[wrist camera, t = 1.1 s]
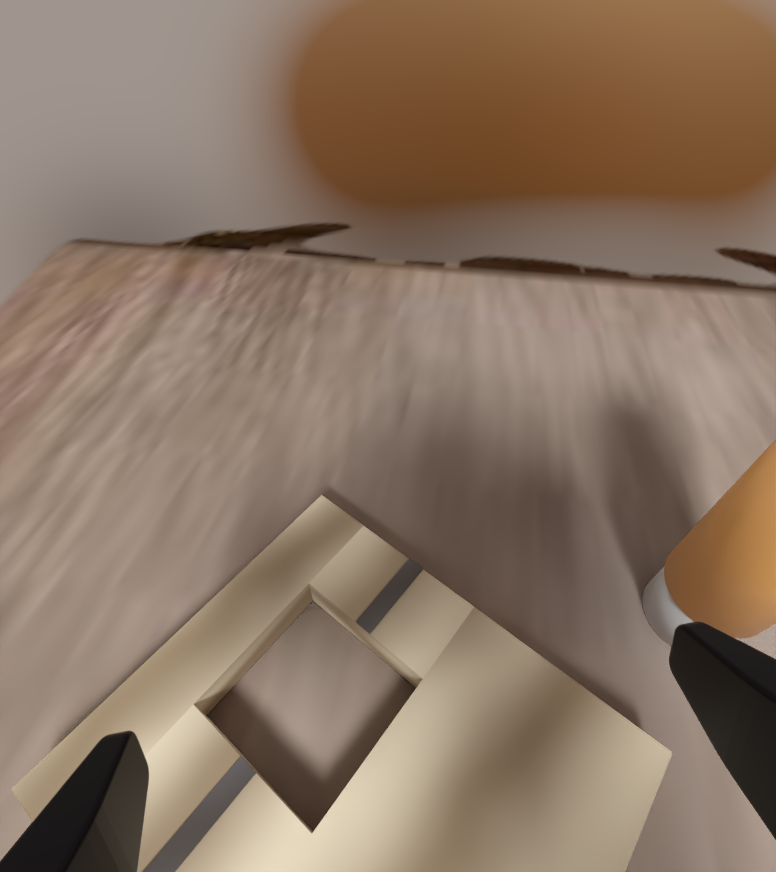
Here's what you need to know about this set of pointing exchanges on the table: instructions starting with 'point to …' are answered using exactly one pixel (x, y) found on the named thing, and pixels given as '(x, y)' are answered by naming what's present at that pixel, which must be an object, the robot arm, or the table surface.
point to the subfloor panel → (397, 748)
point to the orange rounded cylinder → (723, 563)
